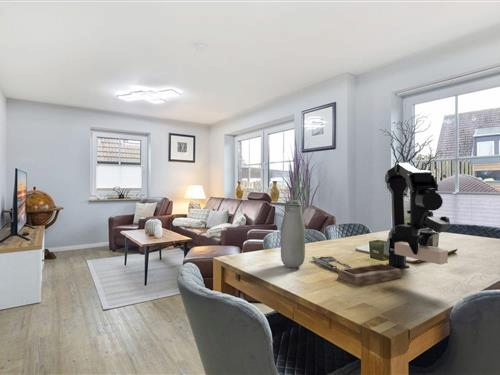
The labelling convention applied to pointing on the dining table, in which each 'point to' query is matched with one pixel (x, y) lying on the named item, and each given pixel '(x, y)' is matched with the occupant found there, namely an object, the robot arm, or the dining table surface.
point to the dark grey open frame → (325, 261)
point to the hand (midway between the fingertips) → (419, 253)
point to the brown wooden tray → (369, 274)
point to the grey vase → (293, 235)
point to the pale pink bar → (422, 253)
